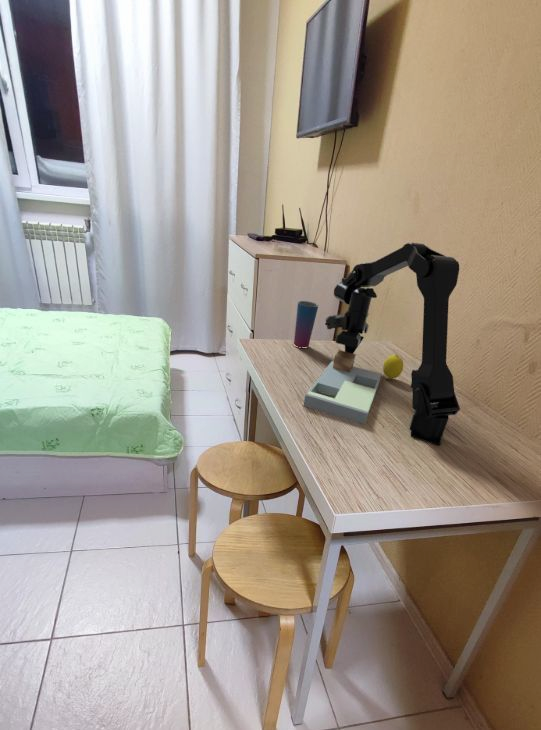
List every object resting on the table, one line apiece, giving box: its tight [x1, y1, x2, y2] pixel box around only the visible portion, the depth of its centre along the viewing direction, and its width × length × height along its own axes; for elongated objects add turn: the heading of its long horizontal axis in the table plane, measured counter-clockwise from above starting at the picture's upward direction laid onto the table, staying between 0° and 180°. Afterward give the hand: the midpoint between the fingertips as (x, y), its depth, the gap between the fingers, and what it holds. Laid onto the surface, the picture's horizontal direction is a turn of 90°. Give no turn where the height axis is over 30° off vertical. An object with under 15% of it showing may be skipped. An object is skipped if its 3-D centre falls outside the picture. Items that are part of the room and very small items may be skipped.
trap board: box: [303, 360, 382, 425], centre depth 101 cm, size 15×27×3 cm, turn 157°
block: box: [333, 349, 357, 373], centre depth 110 cm, size 5×5×4 cm
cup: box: [293, 300, 319, 347], centre depth 127 cm, size 7×7×15 cm
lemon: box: [382, 354, 404, 380], centre depth 112 cm, size 6×6×8 cm
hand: (347, 359), depth 115 cm, fingers closed
